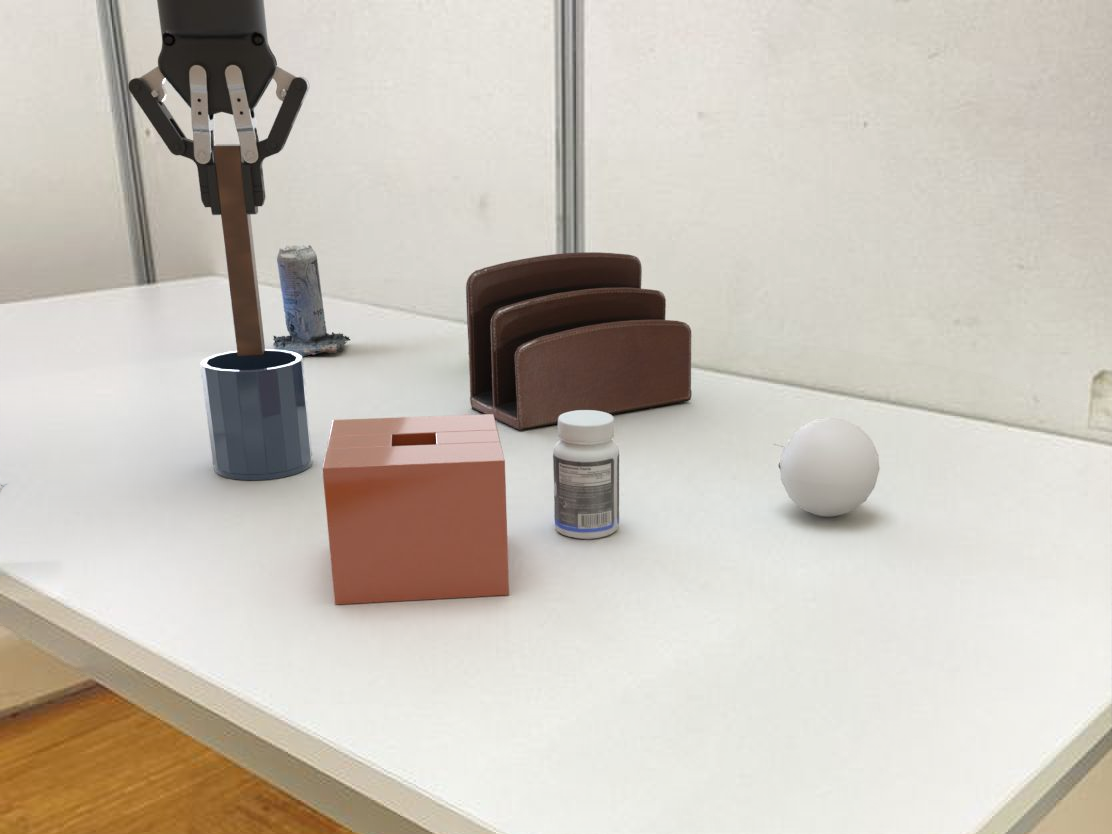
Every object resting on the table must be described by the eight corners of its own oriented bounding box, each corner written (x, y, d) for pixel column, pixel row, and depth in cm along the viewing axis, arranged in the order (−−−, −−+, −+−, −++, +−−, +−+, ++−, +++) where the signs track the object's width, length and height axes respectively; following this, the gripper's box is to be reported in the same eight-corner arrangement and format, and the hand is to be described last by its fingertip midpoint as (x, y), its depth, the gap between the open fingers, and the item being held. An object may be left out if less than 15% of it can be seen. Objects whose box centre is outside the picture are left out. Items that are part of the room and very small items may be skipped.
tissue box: (334, 604, 79) (322, 468, 75) (343, 543, 89) (332, 419, 85) (509, 595, 80) (504, 460, 77) (498, 535, 90) (493, 413, 87)
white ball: (895, 522, 93) (905, 426, 90) (808, 536, 90) (816, 437, 87) (823, 483, 101) (830, 394, 98) (742, 494, 99) (746, 403, 96)
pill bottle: (570, 514, 95) (569, 405, 91) (628, 522, 93) (629, 411, 90) (543, 534, 91) (541, 421, 87) (604, 544, 89) (604, 428, 86)
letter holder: (468, 408, 123) (462, 261, 117) (636, 382, 133) (637, 244, 127) (518, 432, 115) (514, 275, 109) (692, 402, 125) (696, 257, 119)
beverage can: (273, 360, 142) (261, 251, 138) (273, 346, 149) (262, 242, 144) (354, 356, 144) (345, 248, 140) (350, 342, 151) (342, 239, 146)
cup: (208, 482, 102) (193, 372, 98) (221, 453, 109) (208, 350, 105) (308, 478, 103) (298, 369, 99) (315, 450, 110) (305, 347, 106)
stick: (237, 356, 101) (212, 146, 95) (240, 351, 103) (216, 144, 96) (262, 355, 101) (239, 145, 95) (265, 350, 103) (242, 144, 97)
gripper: (307, -32, 95) (328, 206, 102) (118, -33, 93) (152, 209, 100) (300, -38, 88) (322, 218, 95) (95, -40, 86) (133, 221, 93)
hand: (234, 212), depth 98 cm, fingers closed on stick, 2 cm apart
